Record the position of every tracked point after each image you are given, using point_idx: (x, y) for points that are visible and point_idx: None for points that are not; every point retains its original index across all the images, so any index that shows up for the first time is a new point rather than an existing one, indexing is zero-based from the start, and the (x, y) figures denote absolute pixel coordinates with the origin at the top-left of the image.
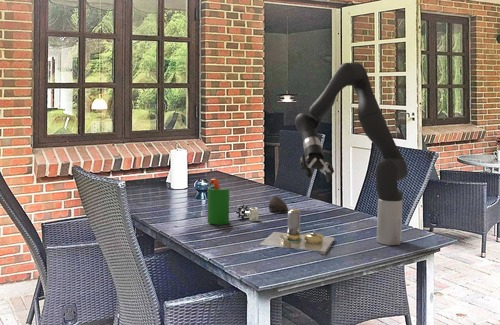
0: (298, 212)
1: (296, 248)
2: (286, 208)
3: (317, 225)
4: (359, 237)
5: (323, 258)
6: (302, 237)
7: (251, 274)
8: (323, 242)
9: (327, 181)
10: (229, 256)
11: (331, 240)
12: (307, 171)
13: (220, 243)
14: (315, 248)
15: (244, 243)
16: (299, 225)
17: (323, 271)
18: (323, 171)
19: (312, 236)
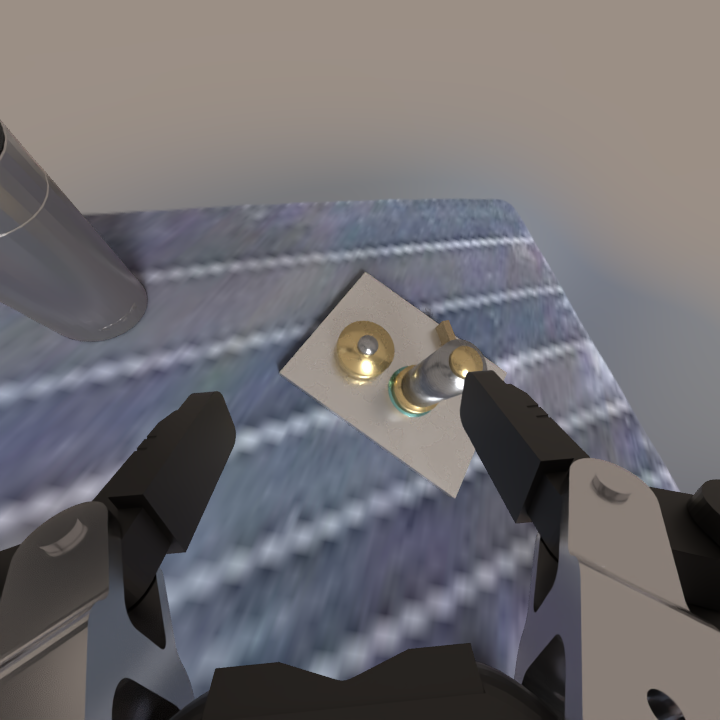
0: (449, 343)
1: (424, 314)
2: None
3: (228, 629)
4: (164, 384)
5: (375, 257)
6: (380, 403)
7: (519, 240)
8: (337, 336)
9: (231, 426)
10: (559, 337)
11: (304, 346)
12: (554, 435)
13: (587, 439)
14: (379, 297)
15: None
16: (419, 363)
17: (402, 203)
18: (164, 650)
19: (375, 335)
